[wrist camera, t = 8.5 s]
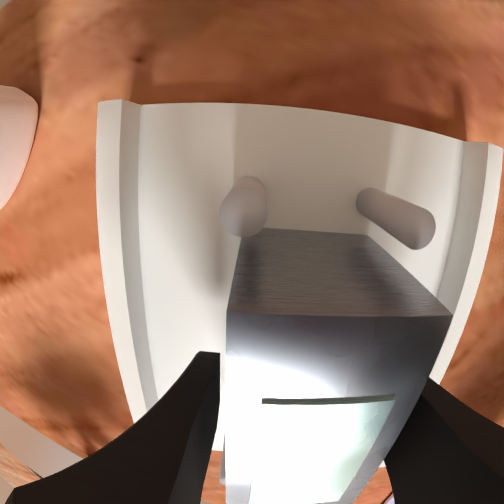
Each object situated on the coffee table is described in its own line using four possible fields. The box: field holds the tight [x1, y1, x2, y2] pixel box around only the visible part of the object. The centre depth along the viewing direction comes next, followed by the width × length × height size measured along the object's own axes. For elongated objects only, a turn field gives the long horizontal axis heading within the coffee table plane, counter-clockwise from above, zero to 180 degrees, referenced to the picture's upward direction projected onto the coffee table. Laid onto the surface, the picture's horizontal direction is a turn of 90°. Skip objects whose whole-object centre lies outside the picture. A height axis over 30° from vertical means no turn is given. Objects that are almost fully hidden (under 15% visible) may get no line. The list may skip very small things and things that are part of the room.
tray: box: [96, 99, 503, 485], centre depth 10 cm, size 16×13×4 cm
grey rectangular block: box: [225, 228, 453, 504], centre depth 9 cm, size 8×4×6 cm, turn 177°
